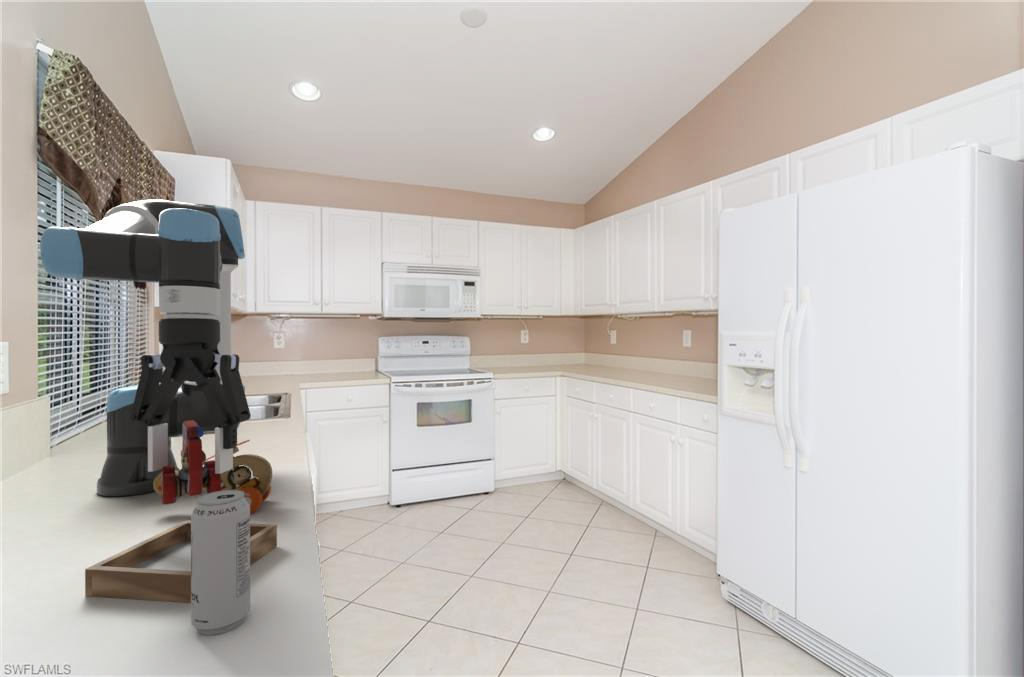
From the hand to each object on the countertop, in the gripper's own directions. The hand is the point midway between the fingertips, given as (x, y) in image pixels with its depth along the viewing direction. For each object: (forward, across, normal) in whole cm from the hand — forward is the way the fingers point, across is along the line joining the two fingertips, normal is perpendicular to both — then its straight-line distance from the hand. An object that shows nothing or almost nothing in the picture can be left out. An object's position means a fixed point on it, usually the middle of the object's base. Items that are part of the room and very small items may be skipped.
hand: (190, 470), depth 71 cm
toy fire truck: (+4, 0, 0) cm, 4 cm away
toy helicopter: (+15, -13, +23) cm, 30 cm away
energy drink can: (+15, +14, -12) cm, 23 cm away
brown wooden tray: (+14, 0, 0) cm, 14 cm away
